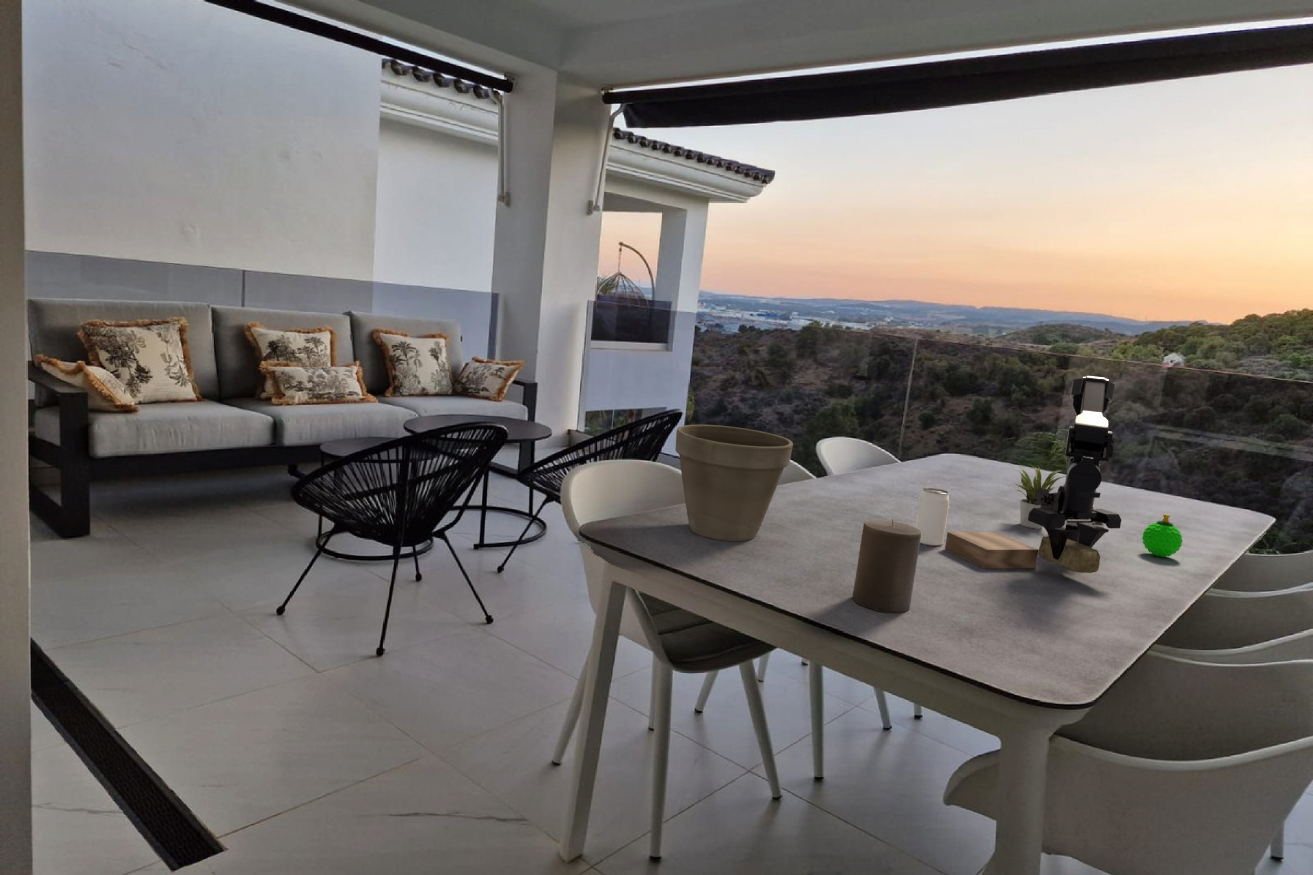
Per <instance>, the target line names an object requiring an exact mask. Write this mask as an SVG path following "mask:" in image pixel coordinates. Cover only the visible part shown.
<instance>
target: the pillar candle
mask: <svg viewBox="0 0 1313 875" xmlns="http://www.w3.org/2000/svg"><path fill="white" fill-rule="evenodd" d="M920 539H921V530H920V529H918V528H916V527H915V526H913V525H909V524H907V523H903V522H902V523H901V522H898V521H894V518H892V519H891V520H887V519H877V518H876V519H867V520H865V521H863V527H862V533H861V539H860V546H859V552H858V558H857V559H858V560H857V566H856V570H855V578H854V586H853V591H852V598H853V601H854V602H855V603H857V605H860V606H861V607H865V608H867V609H868V608H869V609H871V610H874V611H877V612H881V613H887V614H888V613H891V614H894V613H895V614H899V613H906V612H908V611H909V610H910V608H911V602H912V596H913V590H914V583H915V577H916V576H915V575H916V569H917V564H918V558H919V551H920Z"/></svg>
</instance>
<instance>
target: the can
mask: <svg viewBox="0 0 1313 875" xmlns="http://www.w3.org/2000/svg"><path fill="white" fill-rule="evenodd" d="M949 493H950V492H949V491H947V490H945V489H941V488H935V487H922V491H921V492H920V494H919V498H918V504H917V508H916V509H917V511H916V517H915V525H914V527H916V528H918V529H920V530H921V539H920V544H921V545H925V546H928V547H929V546H931V547H939V546H941V545H943V544H944V541H945V532H946V526H947V521H948V520H947V519H948V513H949V506H950V497H949Z"/></svg>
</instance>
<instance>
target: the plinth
mask: <svg viewBox="0 0 1313 875" xmlns="http://www.w3.org/2000/svg"><path fill="white" fill-rule="evenodd" d="M944 550H945V551H947V552H950V553H952V555H953V554H954V555H956V556H958V557H960V558H962V559H964V560H966V561H968V562H970V563H973V564H974V565H976V566H979V567H980V568H983V569H1035V568H1036V566H1037V561H1038V551H1039V548H1037V547H1034V546H1030V545H1028V544H1026V543H1023V542H1022V541H1018V540H1017V539H1014V538H1011V537H1010V536H1006V535H1004V534H1002V533H999V532H996V531H947V533H946V540H945V547H944Z"/></svg>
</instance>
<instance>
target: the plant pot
mask: <svg viewBox="0 0 1313 875" xmlns="http://www.w3.org/2000/svg"><path fill="white" fill-rule="evenodd" d="M675 435H676V437H675V452H676V453H677V454H678V455H679V465H680V472H681V480H682V487H683V494H684V500H685V508H686V514H687V520H688V521H687V522H688V525H689V528H690V531H692V532H693V533H694V534H696V535H699V536H701V537H704V538H708V539H712V540H716V541H717V540H719V541H722V542H723V541H724V542H744V541H745V542H746V541H751V540H752V539H754V538H755V537H757V535H758V532H759V530H760V529H761V527H762V524H763V521H764V519H765V516H766V514H767V511H768V509H769V507H770V504H771V501H772V500H773V497H774V494H775V492H776V489H777V487H778V484H779V481H780V480H781V477H782V474H783V471H784V469H785V468H786V467H788V466H789V465H790V463H791V462H790V461H791V458H792V451H793V447H794V443H793V441H792V440H790V439H789V438H786V437H785V436H781V435H778V434H773V433H769V432H765V431H761V430H754V429H750V428H742V427H735V426H729V425H727V426H726V425H719V424H718V425H717V424H716V425H715V424H688V425H687V424H686V425H681V426H679V427H677V429H676V434H675Z"/></svg>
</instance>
